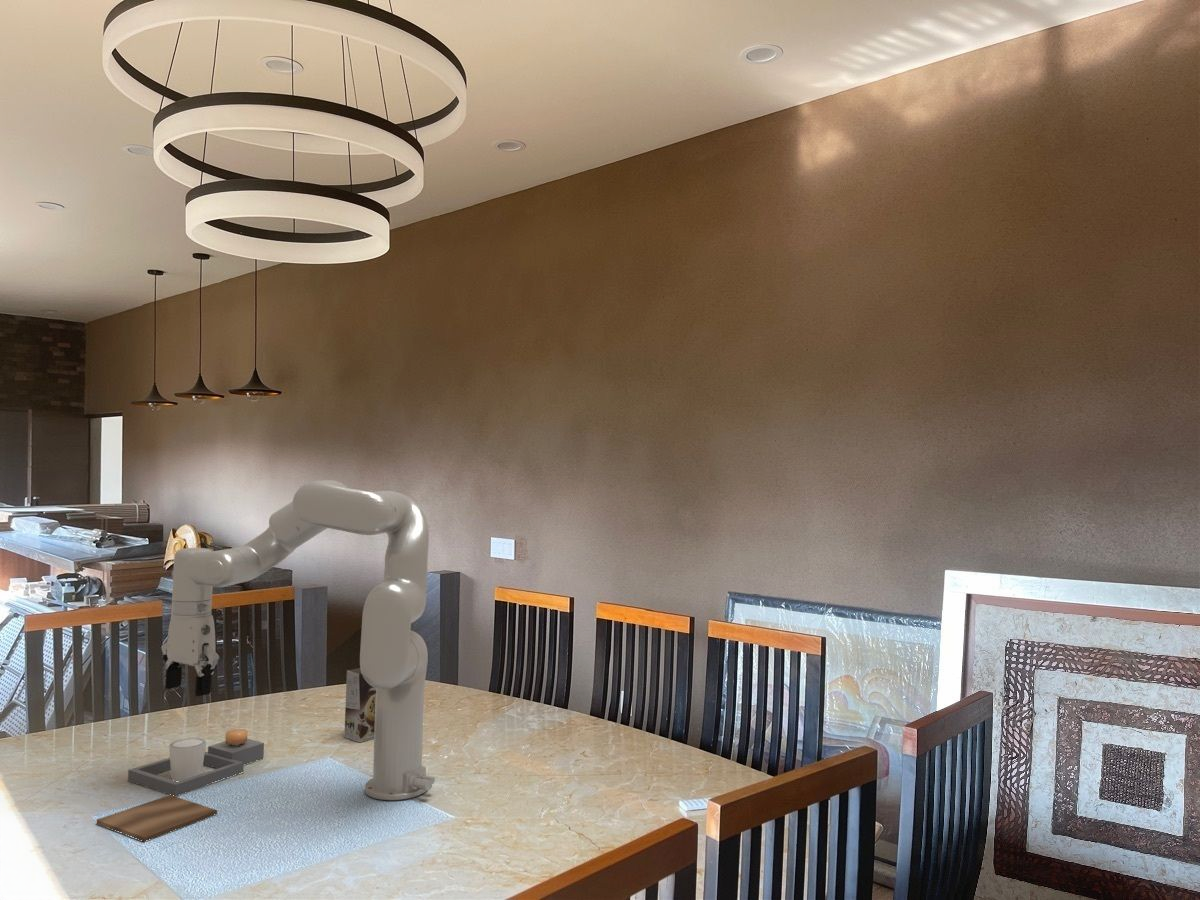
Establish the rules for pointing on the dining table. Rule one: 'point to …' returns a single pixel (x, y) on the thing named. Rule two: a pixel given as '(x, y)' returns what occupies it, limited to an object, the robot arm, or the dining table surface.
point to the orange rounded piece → (236, 737)
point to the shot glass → (186, 758)
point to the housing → (217, 756)
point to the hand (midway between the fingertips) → (187, 691)
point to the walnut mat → (156, 817)
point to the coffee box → (359, 707)
